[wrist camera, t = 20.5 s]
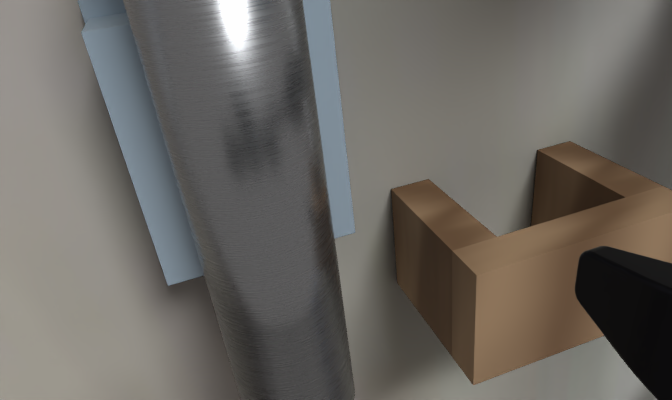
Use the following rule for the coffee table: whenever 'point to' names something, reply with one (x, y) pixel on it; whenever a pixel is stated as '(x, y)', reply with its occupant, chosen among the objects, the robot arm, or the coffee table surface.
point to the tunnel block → (523, 258)
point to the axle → (252, 185)
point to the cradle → (149, 146)
